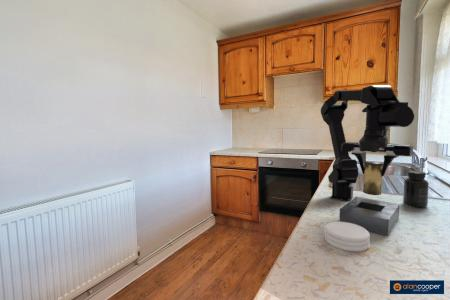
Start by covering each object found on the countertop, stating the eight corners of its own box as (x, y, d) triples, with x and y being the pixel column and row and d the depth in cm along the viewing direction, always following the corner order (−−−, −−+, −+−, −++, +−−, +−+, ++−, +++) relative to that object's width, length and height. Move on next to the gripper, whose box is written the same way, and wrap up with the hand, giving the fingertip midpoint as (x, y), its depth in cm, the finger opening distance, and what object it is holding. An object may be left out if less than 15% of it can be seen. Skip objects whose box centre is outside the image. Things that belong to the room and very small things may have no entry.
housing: (339, 223, 70) (339, 208, 69) (355, 209, 81) (356, 196, 80) (387, 236, 61) (388, 219, 61) (398, 218, 73) (399, 204, 72)
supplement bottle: (425, 203, 85) (427, 171, 84) (429, 209, 79) (432, 174, 78) (401, 201, 89) (403, 169, 87) (404, 206, 83) (406, 172, 81)
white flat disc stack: (318, 243, 59) (318, 229, 59) (332, 230, 66) (333, 217, 66) (362, 258, 52) (363, 242, 52) (374, 241, 59) (374, 228, 59)
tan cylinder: (361, 192, 77) (362, 162, 76) (365, 189, 80) (367, 160, 79) (378, 196, 73) (381, 164, 72) (382, 192, 77) (385, 162, 76)
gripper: (335, 127, 75) (333, 174, 77) (408, 127, 62) (404, 185, 64) (348, 126, 83) (346, 169, 85) (415, 126, 70) (411, 177, 72)
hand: (373, 174), depth 76 cm, fingers closed on tan cylinder, 5 cm apart
